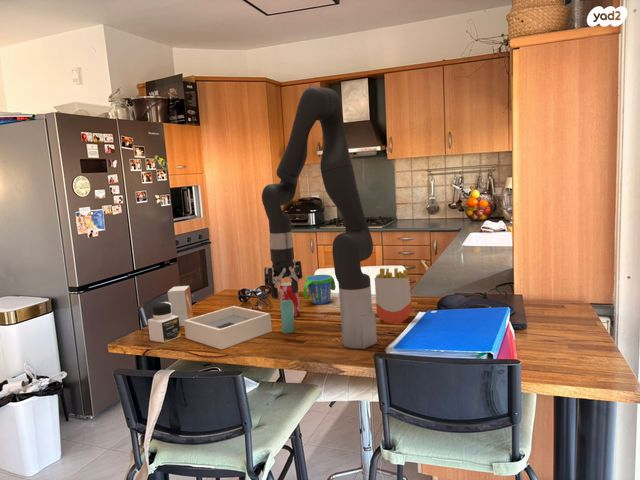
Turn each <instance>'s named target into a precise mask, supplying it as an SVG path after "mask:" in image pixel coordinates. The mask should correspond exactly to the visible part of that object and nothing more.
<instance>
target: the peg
mask: <svg viewBox="0 0 640 480" xmlns="http://www.w3.org/2000/svg"><path fill="white" fill-rule="evenodd" d="M279 307H280V308H281V310H280V316H281V319H280V320H281V327H282V329H281V330H282V333H283V334H292V333H295V332H296V330H295V319H294V318H295V317H294V315H293V303H292V300H284V301H281V302H280V301H279Z"/></svg>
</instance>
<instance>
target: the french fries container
mask: <svg viewBox="0 0 640 480" xmlns="http://www.w3.org/2000/svg"><path fill="white" fill-rule="evenodd" d="M389 268H390V267H389ZM389 268H385V267H381V268H379V273H378V274H376V275H375V277H374V289H375V290H374V291H375V307H376V315H377V316H378V317H379V318H380V319H381V320H382V321H383V322H385V323H395V324H396V323H399V324H401V323H403V322H404V321H405V320H406V319H408V318H409V317H410V315H411V314H412V311H413V310H412V308H413V307H412V297H411V296H412V295H411V287H410V286H411V285H410V278H409V275H408V269H403V270H402V271H399V269H398V268H397V267H395V268H393V269H394V270H393V272H394V275H393V272H392V271H390V269H389ZM385 269H386V270H385Z"/></svg>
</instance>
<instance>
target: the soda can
mask: <svg viewBox="0 0 640 480" xmlns="http://www.w3.org/2000/svg"><path fill="white" fill-rule="evenodd" d="M291 282H292V281H284V282H281V283H279V285H280V286H279V288H278V299H279V303H280V302H281V301H284V300H292V303H293V315H294V318H296V317H297V316H298V315H299V314H300V311H301V308H300V307H301V306H300V293H299V291H298V292H297V293H292V289H291ZM280 311H281V308H280Z"/></svg>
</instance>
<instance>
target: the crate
mask: <svg viewBox="0 0 640 480" xmlns="http://www.w3.org/2000/svg"><path fill="white" fill-rule="evenodd" d="M271 318H272V317H271V313H270V312H269V313H268V312H263V311H259V310H255V309H249V308H245V307H241V306H237V305H231V306H227V307H226V308H225V307H224V308H222V309H218V310H215V311H211V312H209V313H204V314H202V315H198V316H195V317H194V316H193V318H191V319H187V320H184V326H183V327H184V334H185V338H186V339H187V340H191V341H193V342H197V343H200V344H203V345H206V346H209V347H212V348H216V349H219V350H220V351H221V350H224V349H228V348H231V347H233V346H236V345H237V344H241V343H243V342H244V343H245V342H247V341H249V340H252V339H254V338H258V337H260V336H263V335H265V334H269V333H271V332H272V321H271Z"/></svg>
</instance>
